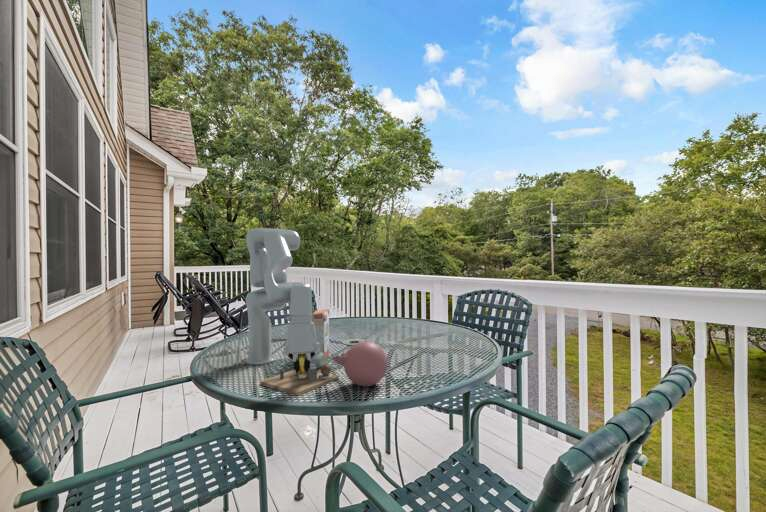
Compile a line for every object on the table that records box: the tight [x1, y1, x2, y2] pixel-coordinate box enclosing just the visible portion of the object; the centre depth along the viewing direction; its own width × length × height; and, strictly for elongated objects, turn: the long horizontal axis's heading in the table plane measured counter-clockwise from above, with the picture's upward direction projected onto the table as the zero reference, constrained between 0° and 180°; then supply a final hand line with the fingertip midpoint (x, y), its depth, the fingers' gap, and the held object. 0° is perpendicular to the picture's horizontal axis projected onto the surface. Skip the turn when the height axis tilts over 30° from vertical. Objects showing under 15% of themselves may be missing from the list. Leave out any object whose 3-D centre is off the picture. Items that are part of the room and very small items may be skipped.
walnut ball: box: [319, 363, 332, 375], centre depth 139 cm, size 4×4×4 cm
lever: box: [297, 353, 306, 378], centre depth 137 cm, size 16×4×9 cm, turn 12°
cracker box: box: [312, 308, 330, 357], centre depth 172 cm, size 14×6×21 cm, turn 179°
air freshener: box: [306, 342, 327, 369], centre depth 156 cm, size 11×8×10 cm
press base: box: [259, 364, 339, 397], centre depth 137 cm, size 20×20×6 cm
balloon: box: [331, 340, 388, 387], centre depth 133 cm, size 15×20×15 cm
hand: (301, 370), depth 131 cm, fingers closed on lever, 2 cm apart
